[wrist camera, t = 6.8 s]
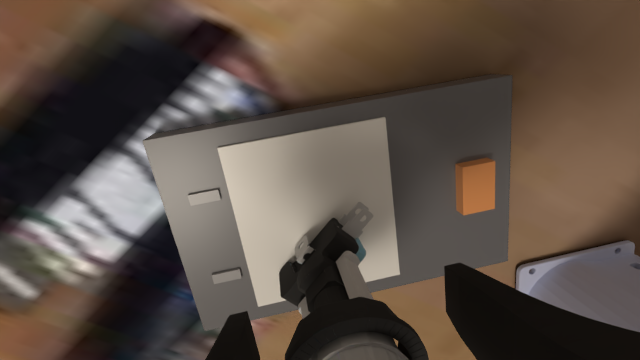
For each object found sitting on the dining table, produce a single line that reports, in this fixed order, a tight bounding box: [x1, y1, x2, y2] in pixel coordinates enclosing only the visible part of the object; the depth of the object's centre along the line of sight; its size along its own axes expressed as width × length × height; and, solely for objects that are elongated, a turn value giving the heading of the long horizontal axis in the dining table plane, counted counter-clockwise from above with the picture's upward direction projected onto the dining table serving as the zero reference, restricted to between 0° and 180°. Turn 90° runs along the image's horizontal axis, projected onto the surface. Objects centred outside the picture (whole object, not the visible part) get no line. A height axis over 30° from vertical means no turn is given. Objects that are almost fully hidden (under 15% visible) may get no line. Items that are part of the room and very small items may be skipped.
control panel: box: [143, 74, 512, 331], centre depth 21 cm, size 20×12×3 cm, turn 99°
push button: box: [279, 202, 429, 360], centre depth 16 cm, size 7×5×10 cm
